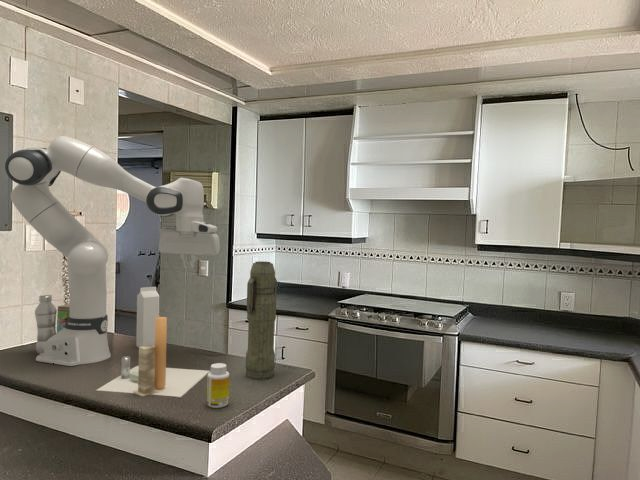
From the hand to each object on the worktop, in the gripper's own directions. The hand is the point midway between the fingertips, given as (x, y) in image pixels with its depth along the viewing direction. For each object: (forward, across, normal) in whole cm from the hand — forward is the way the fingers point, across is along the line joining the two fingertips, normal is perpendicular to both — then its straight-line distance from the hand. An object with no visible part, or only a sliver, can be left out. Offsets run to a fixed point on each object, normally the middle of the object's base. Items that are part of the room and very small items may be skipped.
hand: (188, 267), depth 160 cm
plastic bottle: (+32, -48, -4) cm, 58 cm away
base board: (+31, 0, -22) cm, 38 cm away
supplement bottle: (+31, +23, -36) cm, 53 cm away
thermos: (+31, +28, -11) cm, 43 cm away
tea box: (+31, -46, +12) cm, 57 cm away
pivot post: (+31, -10, -22) cm, 39 cm away
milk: (+31, -20, +12) cm, 39 cm away
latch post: (+31, +2, -32) cm, 45 cm away
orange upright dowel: (+30, -1, -26) cm, 40 cm away
